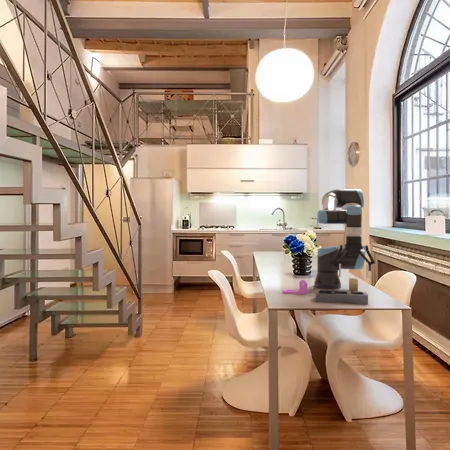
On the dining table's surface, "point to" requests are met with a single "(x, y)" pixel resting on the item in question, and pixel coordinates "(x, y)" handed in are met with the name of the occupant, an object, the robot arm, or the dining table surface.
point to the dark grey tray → (341, 296)
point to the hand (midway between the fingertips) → (353, 277)
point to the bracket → (301, 290)
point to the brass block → (353, 284)
